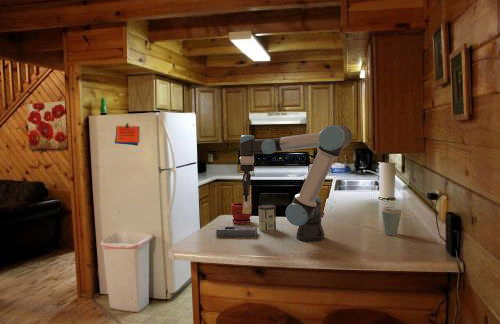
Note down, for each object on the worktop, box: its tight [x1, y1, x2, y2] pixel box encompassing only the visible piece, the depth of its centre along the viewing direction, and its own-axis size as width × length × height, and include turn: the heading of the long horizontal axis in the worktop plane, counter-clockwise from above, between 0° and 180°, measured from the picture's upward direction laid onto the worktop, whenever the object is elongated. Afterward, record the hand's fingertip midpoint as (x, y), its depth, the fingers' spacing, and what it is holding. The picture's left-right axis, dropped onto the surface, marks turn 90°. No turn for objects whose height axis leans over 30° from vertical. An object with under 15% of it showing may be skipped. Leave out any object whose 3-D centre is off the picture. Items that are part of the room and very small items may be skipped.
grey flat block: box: [215, 225, 258, 238], centre depth 238 cm, size 22×8×4 cm, turn 82°
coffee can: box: [257, 204, 277, 233], centre depth 249 cm, size 10×10×14 cm
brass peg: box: [242, 185, 252, 214], centre depth 231 cm, size 4×4×15 cm
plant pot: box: [230, 202, 253, 225], centre depth 269 cm, size 13×13×12 cm
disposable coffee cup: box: [380, 206, 402, 237], centre depth 232 cm, size 11×11×15 cm
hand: (246, 206), depth 231 cm, fingers closed on brass peg, 4 cm apart
